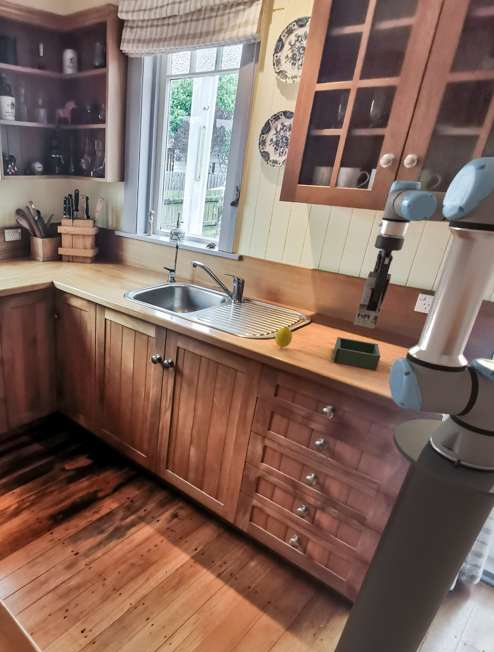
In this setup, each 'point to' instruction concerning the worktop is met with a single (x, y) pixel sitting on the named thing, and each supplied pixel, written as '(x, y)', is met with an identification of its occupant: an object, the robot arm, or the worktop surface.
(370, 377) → the worktop surface
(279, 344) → the lemon
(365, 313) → the coffee box
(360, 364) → the box
